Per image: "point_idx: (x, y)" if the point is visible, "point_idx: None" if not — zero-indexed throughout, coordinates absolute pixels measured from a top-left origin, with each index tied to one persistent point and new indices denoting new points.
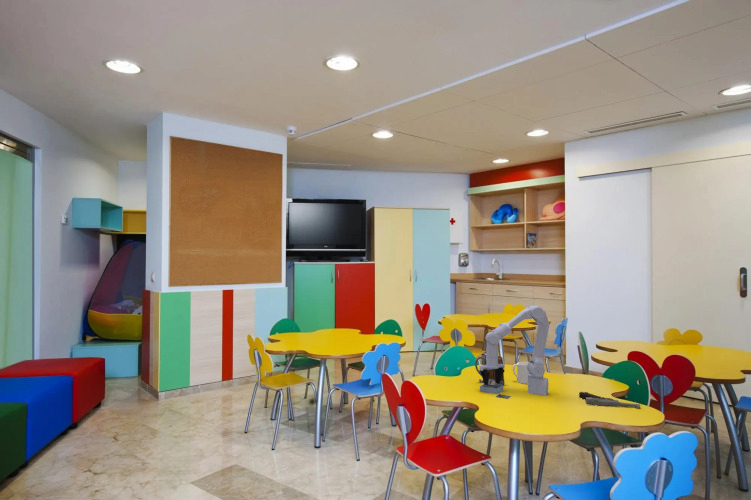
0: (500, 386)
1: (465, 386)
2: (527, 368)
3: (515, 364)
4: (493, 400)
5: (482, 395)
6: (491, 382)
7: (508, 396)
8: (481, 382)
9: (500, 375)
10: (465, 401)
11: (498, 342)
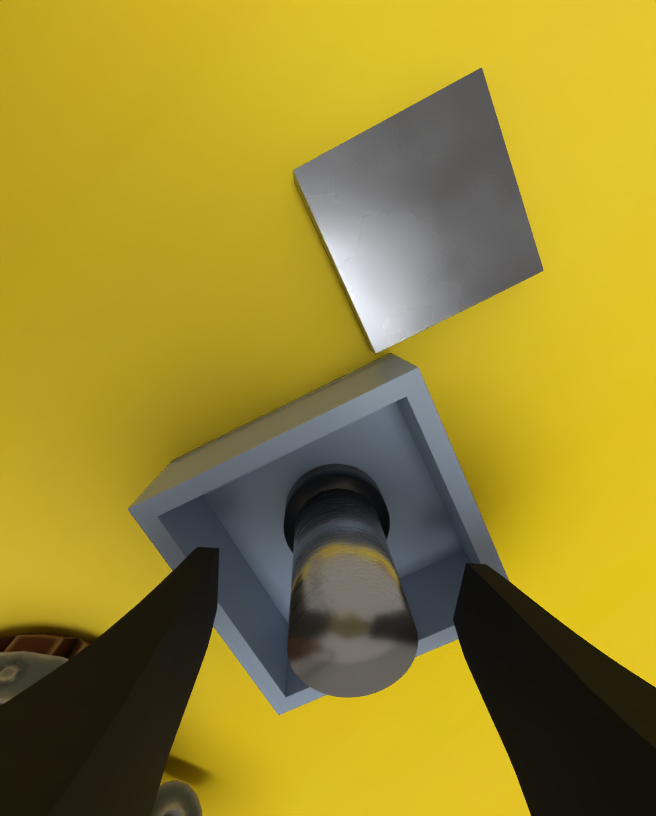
0: (246, 470)
1: (398, 766)
2: None
3: None
4: (600, 238)
5: (524, 469)
6: (396, 580)
7: (351, 184)
8: (186, 792)
9: (128, 671)
10: None
11: None
